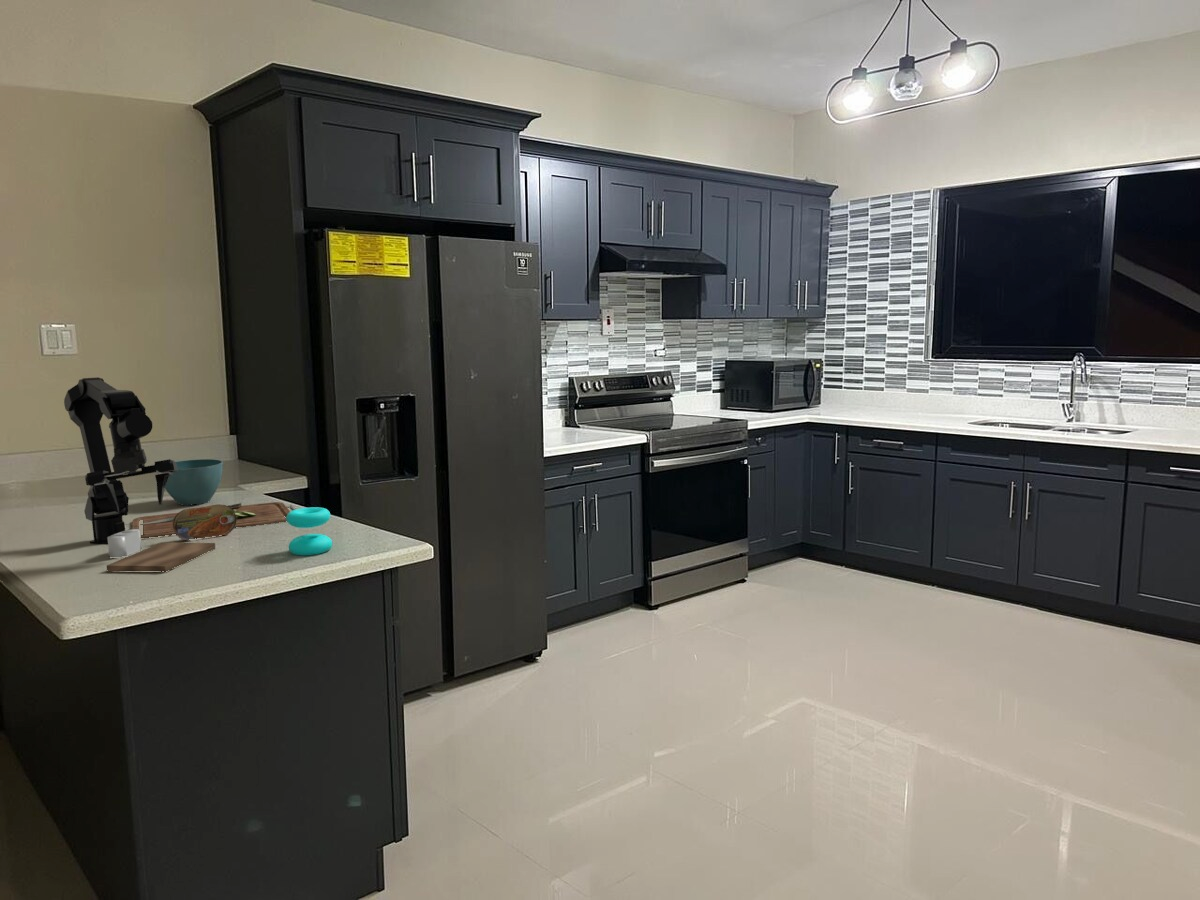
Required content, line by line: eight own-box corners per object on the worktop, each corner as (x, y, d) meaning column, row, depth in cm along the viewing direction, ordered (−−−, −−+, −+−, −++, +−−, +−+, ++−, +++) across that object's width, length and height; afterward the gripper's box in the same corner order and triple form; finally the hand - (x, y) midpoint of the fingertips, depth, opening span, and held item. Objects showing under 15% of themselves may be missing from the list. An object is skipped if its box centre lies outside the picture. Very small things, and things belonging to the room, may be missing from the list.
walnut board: (107, 571, 192) (106, 565, 192) (161, 548, 211) (161, 542, 211) (165, 572, 190) (165, 566, 190) (215, 548, 210) (214, 542, 210)
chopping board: (120, 544, 219) (119, 532, 218) (123, 523, 242) (122, 512, 242) (304, 521, 239) (303, 511, 239) (290, 504, 263) (289, 494, 262)
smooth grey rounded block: (105, 558, 203) (103, 538, 202) (130, 548, 212) (128, 529, 211) (121, 559, 203) (119, 538, 202) (145, 548, 211) (143, 529, 211)
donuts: (330, 504, 211) (329, 513, 201) (333, 544, 212) (332, 554, 203) (287, 508, 208) (284, 516, 198) (290, 548, 209) (287, 558, 200)
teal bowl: (225, 505, 261) (221, 465, 259) (158, 511, 255) (154, 470, 253) (226, 494, 278) (223, 457, 276) (164, 500, 271) (160, 461, 269)
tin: (175, 543, 216) (172, 511, 215) (173, 541, 219) (169, 509, 217) (238, 534, 225) (235, 502, 224) (235, 531, 227) (232, 500, 226)
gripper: (73, 448, 192) (85, 516, 192) (163, 433, 198) (176, 500, 198) (86, 451, 203) (98, 516, 203) (172, 437, 209) (184, 500, 209)
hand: (139, 508), depth 203 cm, fingers open, 9 cm apart
